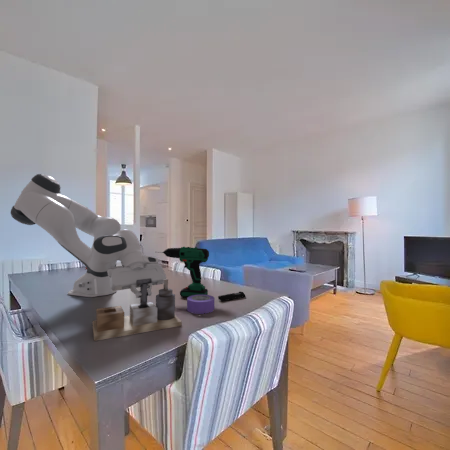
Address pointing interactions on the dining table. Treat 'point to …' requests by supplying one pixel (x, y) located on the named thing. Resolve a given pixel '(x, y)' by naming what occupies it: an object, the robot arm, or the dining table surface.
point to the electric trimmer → (231, 296)
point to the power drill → (191, 267)
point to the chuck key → (143, 291)
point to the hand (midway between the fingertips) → (144, 296)
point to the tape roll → (200, 304)
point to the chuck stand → (137, 317)
